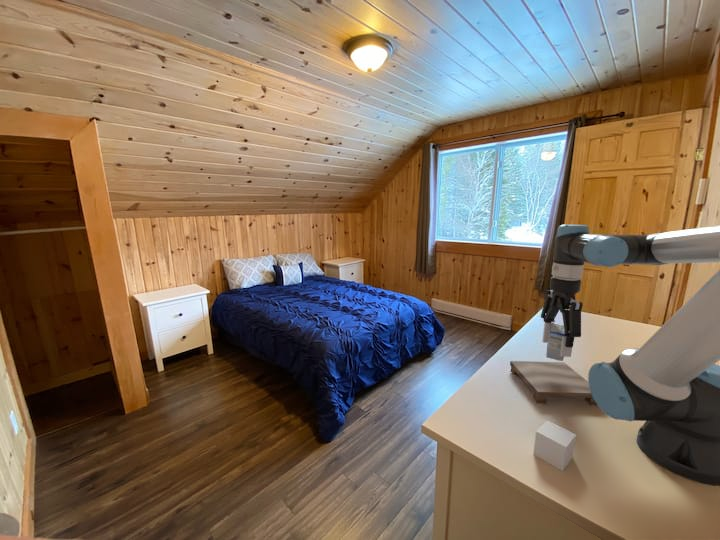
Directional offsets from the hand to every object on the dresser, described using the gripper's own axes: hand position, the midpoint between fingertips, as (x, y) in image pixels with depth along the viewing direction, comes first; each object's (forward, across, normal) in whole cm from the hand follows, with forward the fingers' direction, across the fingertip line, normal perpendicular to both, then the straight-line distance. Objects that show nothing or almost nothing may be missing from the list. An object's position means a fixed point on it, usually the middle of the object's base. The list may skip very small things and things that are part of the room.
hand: (555, 348), depth 94 cm
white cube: (+13, +28, -15) cm, 35 cm away
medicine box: (+2, 0, 0) cm, 2 cm away
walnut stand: (+13, 0, 0) cm, 13 cm away
